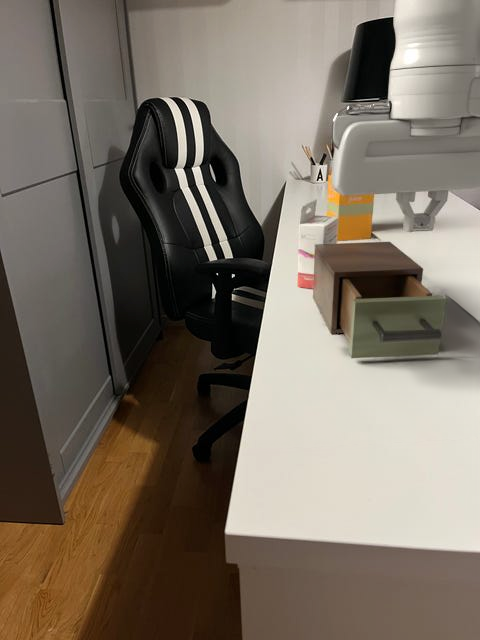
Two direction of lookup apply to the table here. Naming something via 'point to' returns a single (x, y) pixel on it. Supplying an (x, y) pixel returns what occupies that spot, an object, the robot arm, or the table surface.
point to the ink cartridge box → (313, 240)
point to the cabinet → (354, 271)
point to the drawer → (389, 316)
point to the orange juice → (350, 213)
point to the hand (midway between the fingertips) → (418, 230)
